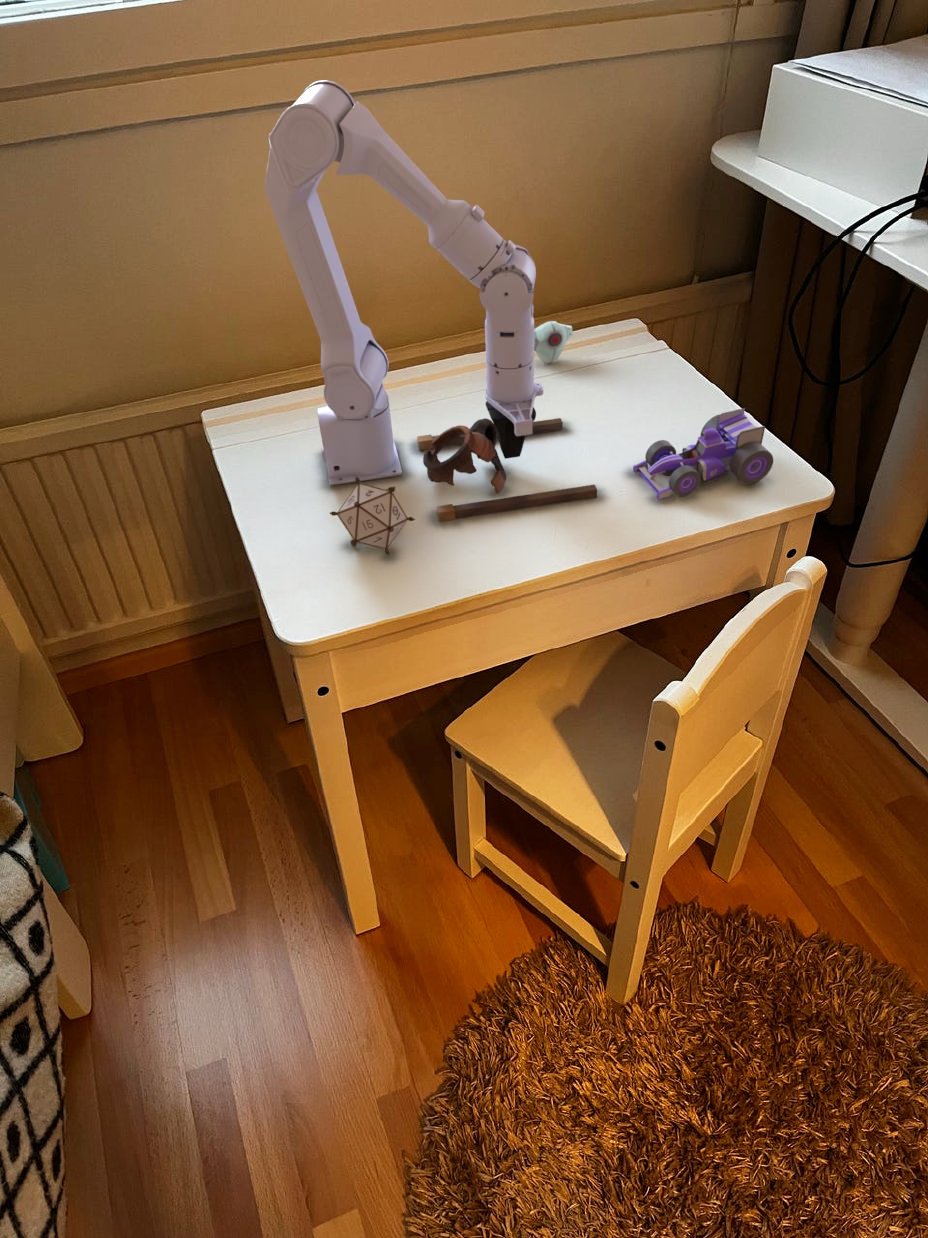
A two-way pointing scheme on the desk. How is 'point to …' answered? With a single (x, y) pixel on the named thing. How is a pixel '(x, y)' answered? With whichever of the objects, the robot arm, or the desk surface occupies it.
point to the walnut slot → (517, 501)
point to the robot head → (551, 340)
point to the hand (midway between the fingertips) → (511, 454)
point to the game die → (372, 516)
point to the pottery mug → (466, 453)
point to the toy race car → (709, 456)
